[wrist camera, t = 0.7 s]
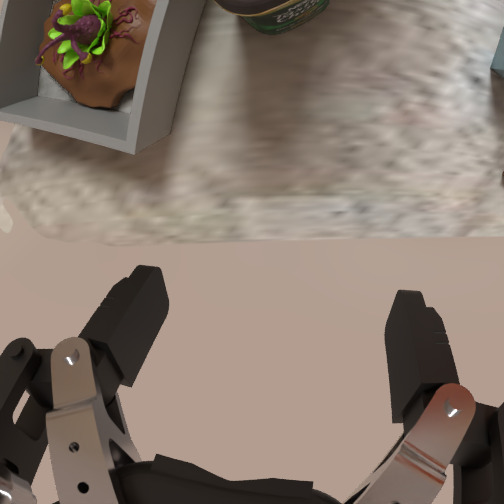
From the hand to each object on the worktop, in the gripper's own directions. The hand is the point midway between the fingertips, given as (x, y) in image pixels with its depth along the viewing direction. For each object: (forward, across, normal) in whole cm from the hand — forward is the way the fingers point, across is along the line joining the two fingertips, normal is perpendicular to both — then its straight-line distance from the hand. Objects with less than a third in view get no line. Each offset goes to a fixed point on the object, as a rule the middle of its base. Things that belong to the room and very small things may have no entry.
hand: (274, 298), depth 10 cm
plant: (+29, +24, -14) cm, 41 cm away
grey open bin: (+28, +24, -15) cm, 40 cm away
